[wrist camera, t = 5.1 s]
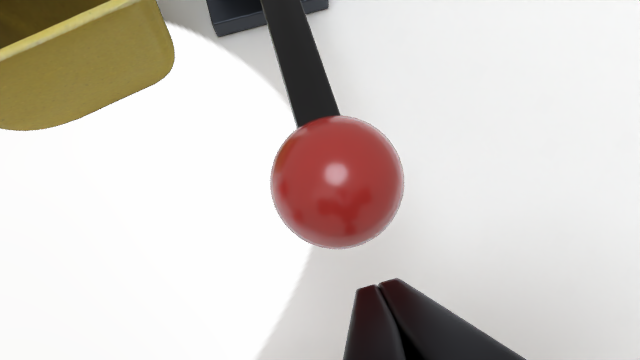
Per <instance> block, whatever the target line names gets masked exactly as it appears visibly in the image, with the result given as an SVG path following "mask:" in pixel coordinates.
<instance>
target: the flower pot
mask: <svg viewBox="0 0 640 360" xmlns="http://www.w3.org/2000/svg"><path fill="white" fill-rule="evenodd" d="M173 63H174V46H173V42H172V39H171V36H170V34H169V31H168V29H167V26H166V24H165V22H164V20H163V17H162V15H161V12H160V10H159V7H158V5H157V2H156V0H0V128H1V129H8V130H16V131H17V130H19V131H21V130H22V131H28V130H39V129H45V128H50V127H54V126H58V125H62V124H65V123H68V122H70V121H73V120H76V119H79V118H81V117H83V116H86V115H88V114H90V113H92V112H95V111H97V110H99V109H101V108H103V107H105V106H107V105H109V104H112V103H114V102H116V101H118V100H120V99H122V98H125V97H127V96H129V95H131V94H133V93H136V92H138V91H140V90H142V89H145V88H147V87H149V86H151V85H153V84H155V83H157V82H158V81H160V80H161V79H163V78H164V77H165V76H166V75H167V74H168V73H169V72H170V70H171V69H172V67H173Z"/></svg>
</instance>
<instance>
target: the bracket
mask: <svg viewBox="0 0 640 360" xmlns="http://www.w3.org/2000/svg"><path fill="white" fill-rule="evenodd" d="M206 1H207V5H208V9H209V13H210V17H211V21H212V25H213V27H214V29H215V32H216V34H217V36H223V35H227V34H231V33H234V32H238V31H242V30H246V29H250V28H254V27H258V26H261V25H265V24H267V22H266V19H265V15H264V12H263V8H262V5H261V1H260V0H206ZM300 1H301V3H302V6H303V9H304V12H305V14H308V13H312V12H315V11H319V10H323V9H327V8H328V0H300Z"/></svg>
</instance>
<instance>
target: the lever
mask: <svg viewBox="0 0 640 360" xmlns="http://www.w3.org/2000/svg"><path fill="white" fill-rule="evenodd" d="M260 1H261V5H262V8H263V12H264V15H265V19H266V22H267V26H268V29H269V32H270V36H271V39H272V43H273V46H274V50H275V53H276V57H277V60H278V64H279V67H280V71H281V74H282V78H283V81H284V84H285V88H286V91H287V95H288V98H289V102H290V105H291V109H292V112H293V116H294V119H295V123H296V126H297V130H295V131H294V132H293V133H292V134H291V135H290V136H289V137H288V138H287V139H286V140H285V142H284V143H283V144H282V146H281V147H280V149H279V151H278V152H277V155H276V157H275V160H274V163H273V166H272V171H271V194H272V199H273V202H274V205H275V208H276V210H277V212H278V214H279V216H280V218H281V219H282V220H283V222H284V223H285V225H286V226H287V227H288V228H289V229H290V230H291V231H292V232H293V233H295V234H296V235H297V236H298V237H300V238H301V239H303V240H304V241H306V242H308V243H310V244H313V245H316V246H319V247H323V248H329V249H347V248H352V247H356V246H359V245H362V244H364V243H366V242H368V241H370V240H372V239H373V238H375V237H376V236H378V235H379V234H380V233H381V232H383V231H384V230H385V229H386V227H387V226H388V225H389V224H390V223H391V221H392V220H393V218H394V217H395V215H396V213H397V211H398V209H399V207H400V204H401V200H402V197H403V191H404V174H403V168H402V164H401V161H400V158H399V156H398V154H397V151H396V150H395V148H394V147H393V145H392V144H391V142H390V141H389V139H388V138H387V137H386V136H385V135H384V134H383V133H382V132H380V131H379V130H378V129H377V128H375V127H374V126H372V125H371V124H369V123H367V122H365V121H362V120H360V119H357V118H352V117H348V116H340V113H339V110H338V107H337V104H336V101H335V98H334V96H333V93H332V90H331V87H330V84H329V81H328V78H327V75H326V73H325V70H324V67H323V64H322V61H321V58H320V55H319V52H318V49H317V47H316V44H315V41H314V38H313V35H312V32H311V29H310V26H309V24H308V21H307V18H306V15H305V12H304V9H303V6H302V3H301V1H300V0H260Z"/></svg>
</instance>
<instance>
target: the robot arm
mask: <svg viewBox="0 0 640 360" xmlns="http://www.w3.org/2000/svg"><path fill="white" fill-rule="evenodd" d="M343 360H526V359H525V358H523V357H521V356H520V355H518V354H517V353H515V352H514V351H512V350H510V349H509V348H507V347H506V346H504V345H503V344H501V343H499V342H498V341H496V340H495V339H493V338H492V337H490V336H488V335H487V334H485V333H484V332H482V331H481V330H479V329H477V328H476V327H474V326H473V325H471V324H470V323H468V322H466V321H465V320H463V319H462V318H460V317H459V316H457V315H455V314H454V313H452V312H451V311H449V310H448V309H446V308H444V307H443V306H441V305H440V304H438V303H437V302H435V301H433V300H432V299H430V298H429V297H427V296H426V295H424V294H422V293H421V292H419V291H418V290H416V289H415V288H413V287H411V286H410V285H408V284H407V283H405V282H404V281H402V280H400V279H398V278H395V279H391V280H388V281H384V282H381V283H379V285H378V286H377V285H370V286H367V287H363V288H360V289H358V290H357V291H356V294H355V299H354V304H353V310H352V315H351V320H350V326H349V331H348V336H347V341H346V347H345V352H344V357H343Z"/></svg>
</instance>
